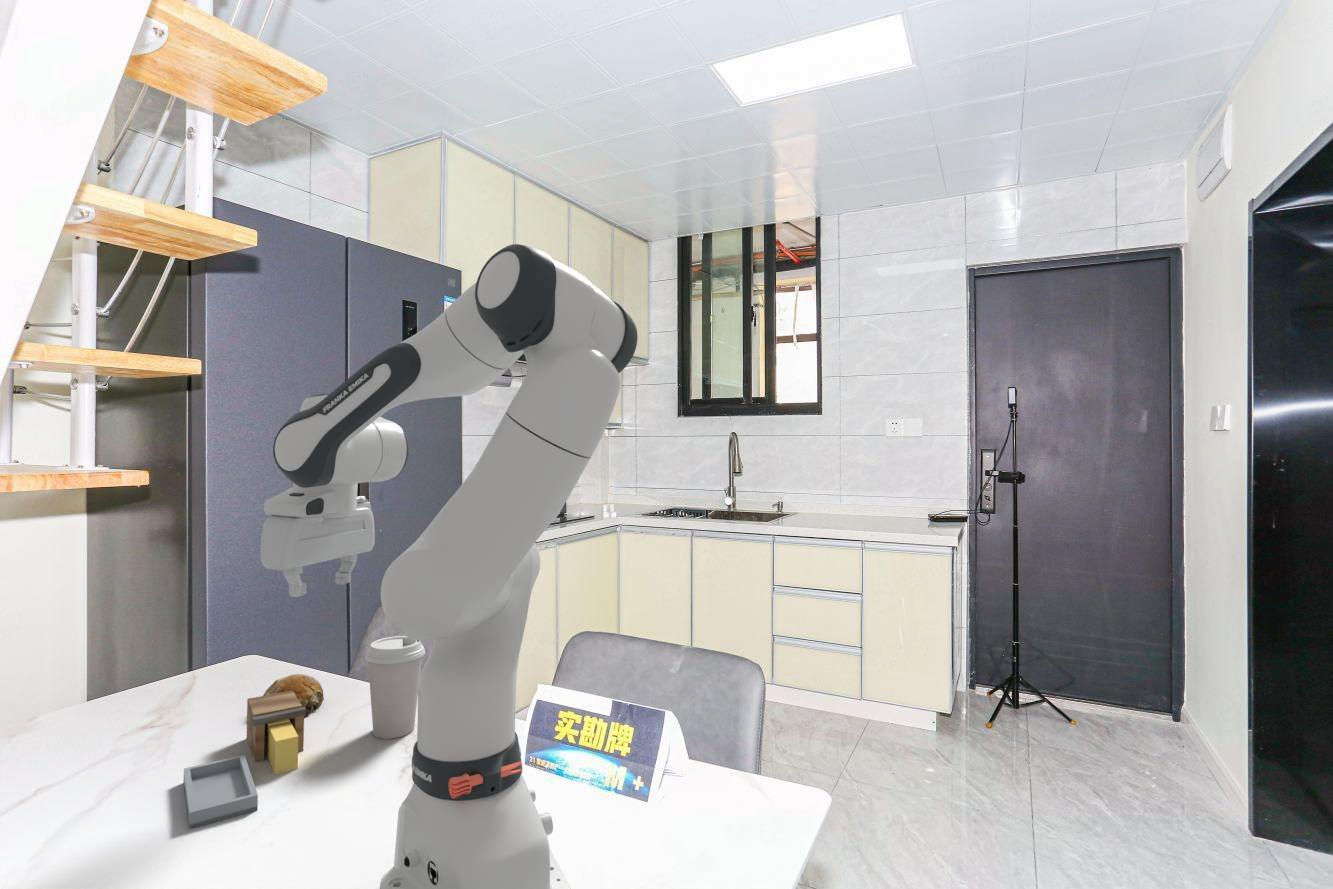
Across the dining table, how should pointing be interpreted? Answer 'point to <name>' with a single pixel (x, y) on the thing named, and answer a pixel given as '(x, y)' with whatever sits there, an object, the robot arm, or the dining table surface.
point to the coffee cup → (394, 684)
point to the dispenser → (272, 718)
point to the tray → (219, 791)
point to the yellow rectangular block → (281, 746)
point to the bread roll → (300, 690)
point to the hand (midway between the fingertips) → (321, 589)
